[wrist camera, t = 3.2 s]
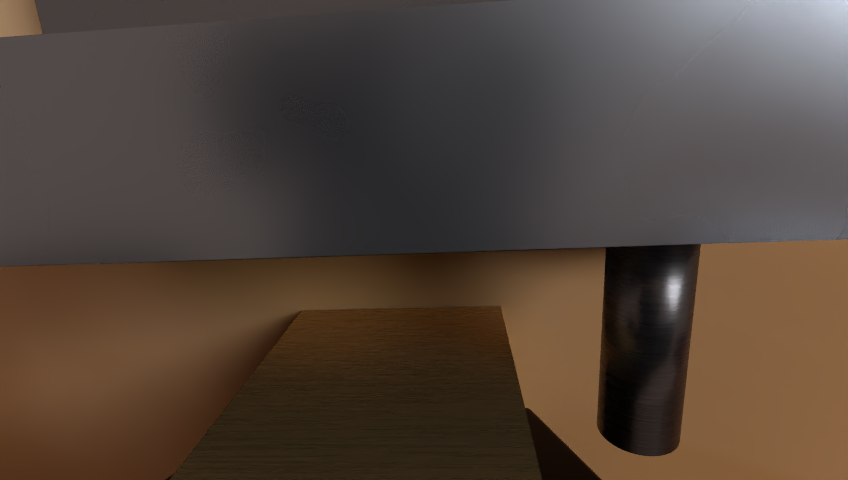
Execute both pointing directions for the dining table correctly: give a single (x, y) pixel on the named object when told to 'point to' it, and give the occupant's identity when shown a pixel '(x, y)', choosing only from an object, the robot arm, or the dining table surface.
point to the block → (376, 403)
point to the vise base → (202, 20)
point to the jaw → (445, 149)
